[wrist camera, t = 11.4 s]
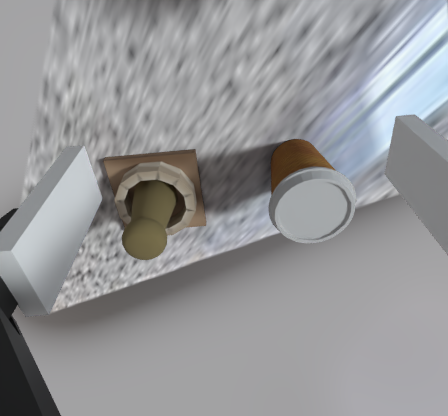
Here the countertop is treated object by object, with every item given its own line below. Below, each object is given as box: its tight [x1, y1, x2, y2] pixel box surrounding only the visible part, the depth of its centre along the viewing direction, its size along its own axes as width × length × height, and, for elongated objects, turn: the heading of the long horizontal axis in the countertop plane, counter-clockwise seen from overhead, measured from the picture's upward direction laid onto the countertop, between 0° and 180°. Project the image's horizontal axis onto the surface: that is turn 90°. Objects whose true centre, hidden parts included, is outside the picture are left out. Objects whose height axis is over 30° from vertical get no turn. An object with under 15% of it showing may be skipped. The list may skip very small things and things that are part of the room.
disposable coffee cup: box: [269, 139, 356, 243], centre depth 43 cm, size 10×10×12 cm
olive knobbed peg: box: [122, 179, 178, 260], centre depth 45 cm, size 6×6×11 cm
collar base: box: [103, 149, 206, 235], centre depth 49 cm, size 12×12×4 cm
